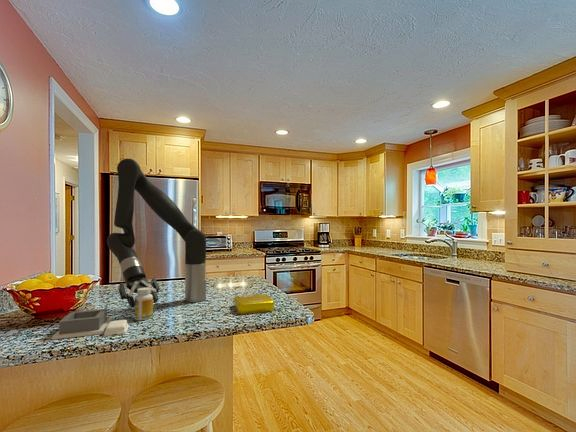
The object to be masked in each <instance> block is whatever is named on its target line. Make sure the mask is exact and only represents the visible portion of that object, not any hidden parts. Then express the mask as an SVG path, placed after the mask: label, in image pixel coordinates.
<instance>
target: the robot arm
mask: <svg viewBox="0 0 576 432" xmlns="http://www.w3.org/2000/svg"><path fill="white" fill-rule="evenodd" d="M116 172H117V180H118V181H117V182H118V183H117V184H118V185H117V187H118V189H117V197H116V204H115V211H114V212H115V213H114V221H113V225H114V226H115V227H116V228H119V229H122V231H123V232H112V233H110V234H108V236H107V239H106V244H107V247H108V249H109V250H110V252H111V253H112V254H113V255H114V256H115V257H116V258H117V261H118V263H119V267H120V272H121V274H122V277H123V279H124V282H125V283H123V282H120V283H119V285H118V287H117V289H118V292H119V296H120V299H121V300H127V303H128V306H129V307H131V309H132V308H135V298H134V296H132V295H133V294H134V293H135V294H137V289H139V288H151V292H150V294H151V295H152V296H153V304H154V303H155V304H156V303H157V302H158V301H159V295H158V293H159V292H160V290H161V287H160V285H159V283H158V281H157V279H156V278H155V277H153V278H152V279H147V276H146V273H145V271H144V268H143V265H142V263H141V261H140V259H139V257H138V255H137V253H136V251H135V250H134V247H135V246H134V245H135V243H136V238H135V232H134V226H133V222H134V212H135V210H134V209H135V191H136V192H137V193H138V194H139V195H140V197H141V198H142V200H143V201H144V202H145V203H146V204H147V205H148V207H149V208H150V209H151V210H152V211H153V212H154V213H155V215H157V216H158V218H159V219H161V220H162V221H163V222H165V224H167V225H168V226H170V227H171V228H172V229H174V230H175V231H176V233H178V235H179V236H180V237H181V239H182V240H183V241H184V245H185V248H184V250H185V252H184V253H185V254H184V255H185V256H184V264H185V265H184V267H185V268H184V272H185V273H184V274H185V275H184V276H185V277H184V278H185V279H184V281H185V282H184V287H185V288H184V290H185V291H184V293H185V294H184V300H185V301H184V302H186V303H197V302H203V301H207V278H206V257H207V238H206V235H205V233H204V232H203V231H202V230H200V229H198V228H197V227H196V226H194V224H192V223H191V222H190V221H189V220H188V219H187V218H186V216H185V214H184V213H183V212H182V211H181V209H180V208H179V207H178V205H177V204H176V203H175V202H174V201H173V200H172V198H170V197H169V195H168V194H167V193H165V192H164V191H163V190H162V189H161V188H158V186H156V185H155V184H154V183H153V182H151V180H150V179H149V178H148V177H147V176H146V175H145V173H144V172H143V170H142V169H141V165H140V164H139V162H137V161H136V160H135V159H133V158H124V159H122V160H120V161H119V162H118V163H117V166H116ZM126 289H128V290H130V291H129V293H127V291H126Z"/></svg>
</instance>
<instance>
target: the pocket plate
mask: <svg viewBox="0 0 576 432" xmlns="http://www.w3.org/2000/svg"><path fill="white" fill-rule="evenodd" d="M111 321H113V318H112V317H110V318H108V309H107V308H100V309H90V310H83V311H82V310H77V311H69V313H68V314H67V315H65V316H64V317H63V318H62V319H61V320H59V321H58V331H56V332H55V333H54V334H53V335H51V340H62V339H71V338H78V337H86V336H94V335H102V334H103V335H104V332H105V330H106V327H107V325H108V324H109V323H110V322H111Z"/></svg>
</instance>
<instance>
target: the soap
mask: <svg viewBox="0 0 576 432" xmlns="http://www.w3.org/2000/svg"><path fill="white" fill-rule="evenodd" d="M128 330H129V323H128V320H127V319H117V320H112V321H111V322H110V323H109V324H108V325H107V327H106V330H105V332H104V333H103V336H104V337H110V336H113V335H117V336H118V335H123V334H126V333H127V332H128Z"/></svg>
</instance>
